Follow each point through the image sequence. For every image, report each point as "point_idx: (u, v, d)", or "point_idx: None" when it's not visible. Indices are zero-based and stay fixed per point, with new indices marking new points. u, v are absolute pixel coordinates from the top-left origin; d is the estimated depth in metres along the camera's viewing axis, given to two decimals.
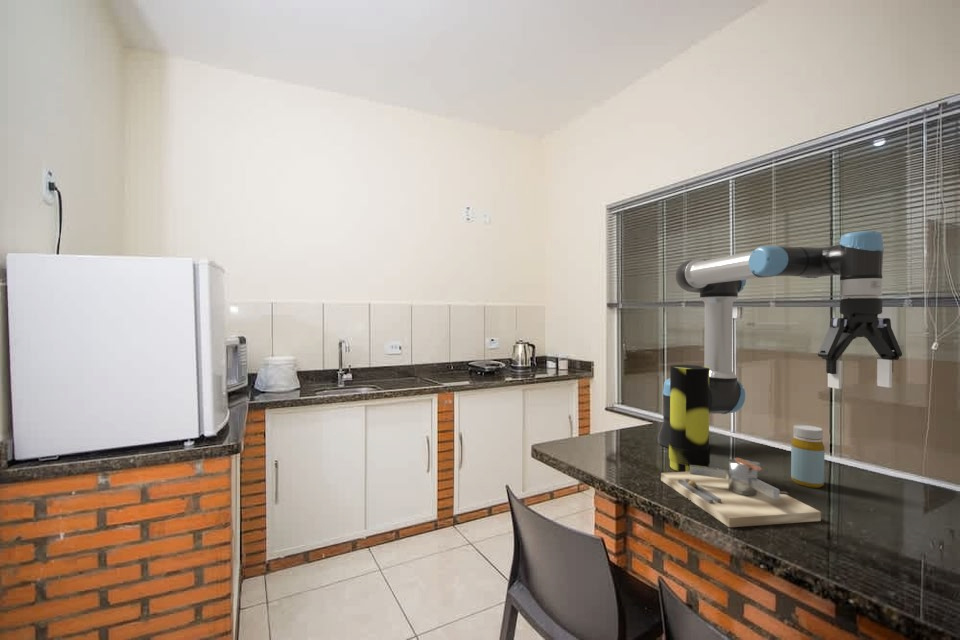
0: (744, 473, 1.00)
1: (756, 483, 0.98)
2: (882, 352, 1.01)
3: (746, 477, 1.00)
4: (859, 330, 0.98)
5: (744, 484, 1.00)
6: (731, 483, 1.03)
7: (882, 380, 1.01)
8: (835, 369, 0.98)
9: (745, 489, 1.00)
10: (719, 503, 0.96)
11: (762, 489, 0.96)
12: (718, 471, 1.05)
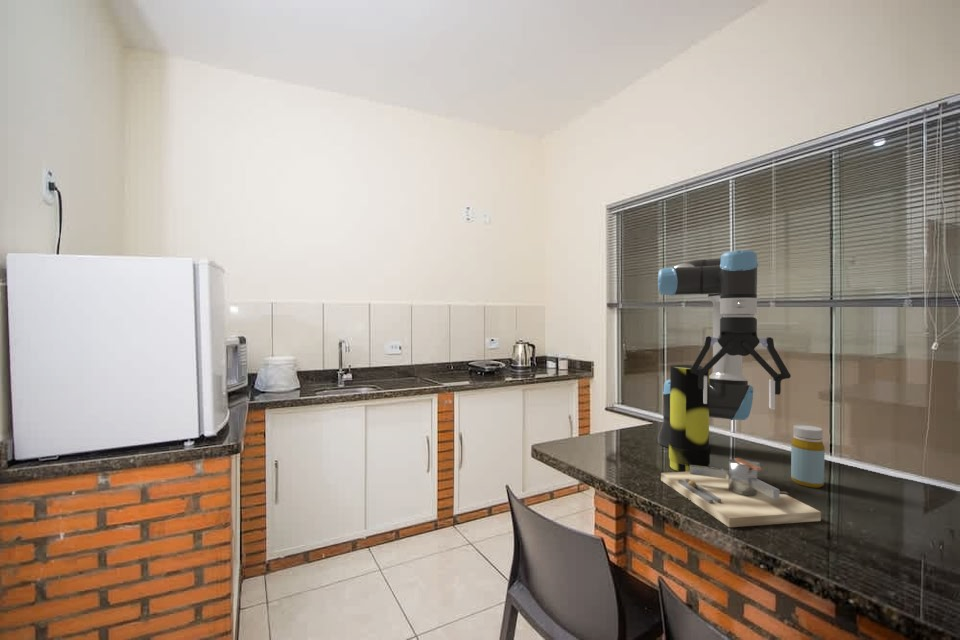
0: (744, 473, 1.00)
1: (756, 483, 0.98)
2: (768, 372, 0.98)
3: (746, 477, 1.00)
4: (727, 348, 1.00)
5: (744, 484, 1.00)
6: (731, 483, 1.03)
7: (769, 401, 0.98)
8: (702, 384, 1.03)
9: (745, 489, 1.00)
10: (719, 503, 0.96)
11: (762, 489, 0.96)
12: (718, 471, 1.05)
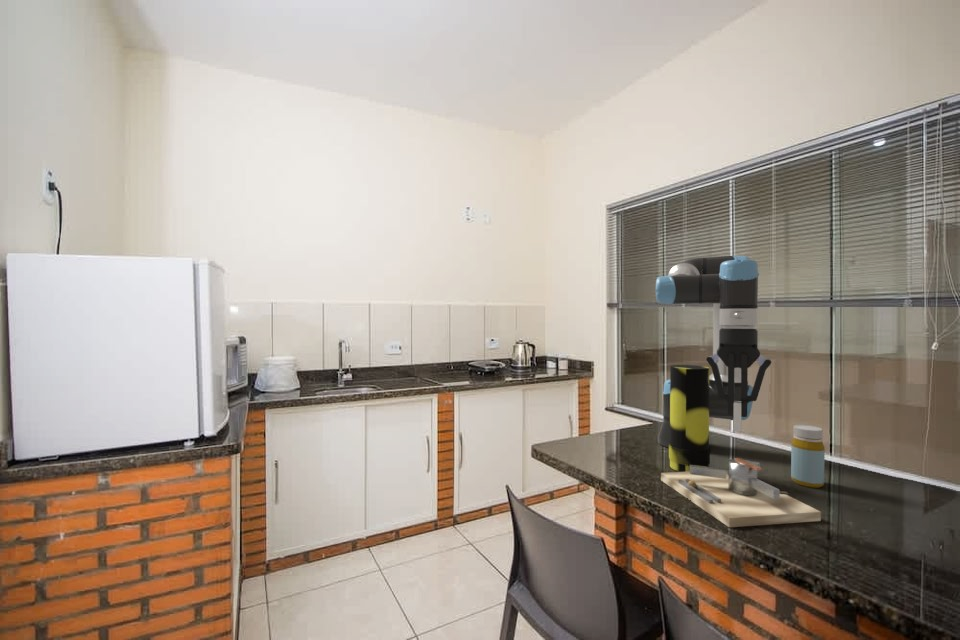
0: (744, 473, 1.00)
1: (756, 483, 0.98)
2: None
3: (746, 477, 1.00)
4: (731, 362, 0.96)
5: (744, 484, 1.00)
6: (731, 483, 1.03)
7: None
8: (732, 410, 0.97)
9: (745, 489, 1.00)
10: (719, 503, 0.96)
11: (762, 489, 0.96)
12: (718, 471, 1.05)
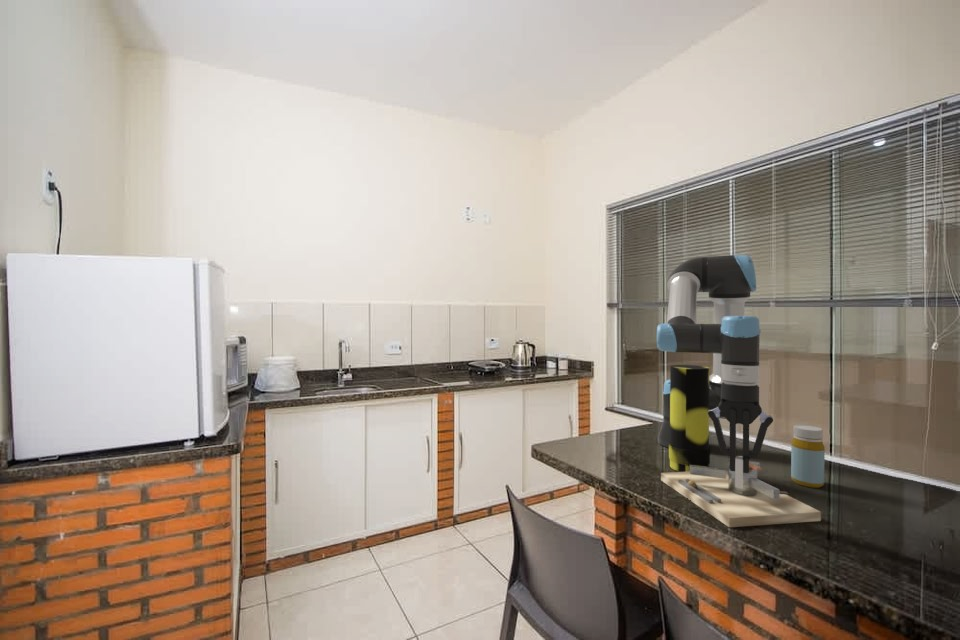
0: (744, 473, 1.00)
1: (756, 483, 0.98)
2: None
3: (746, 477, 1.00)
4: (733, 418, 0.96)
5: (744, 484, 1.00)
6: (731, 483, 1.03)
7: None
8: (734, 466, 0.97)
9: (745, 489, 1.00)
10: (719, 503, 0.96)
11: (762, 489, 0.96)
12: (718, 471, 1.05)
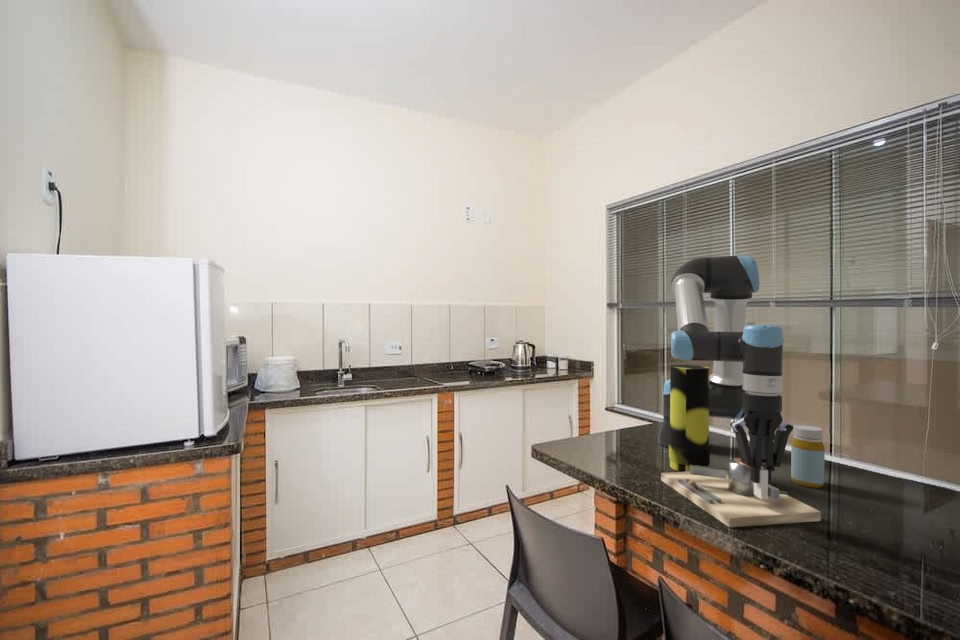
0: (744, 473, 1.00)
1: None
2: (764, 457, 0.96)
3: (746, 477, 1.00)
4: (760, 430, 0.94)
5: (744, 484, 1.00)
6: (731, 483, 1.03)
7: None
8: (758, 478, 0.95)
9: (745, 489, 1.00)
10: (719, 503, 0.96)
11: None
12: (718, 471, 1.05)
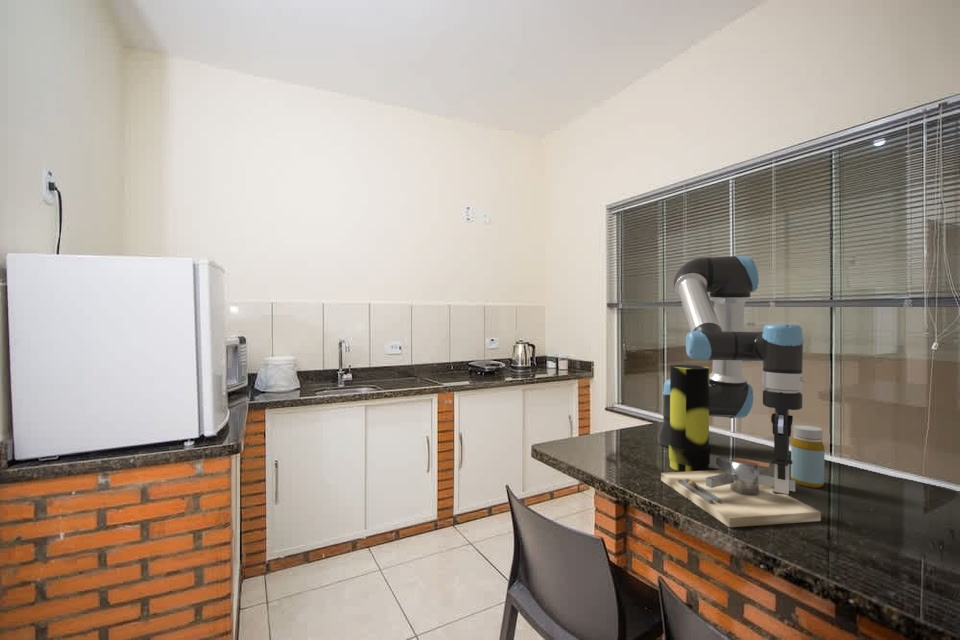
0: (756, 473, 1.01)
1: (769, 480, 1.00)
2: None
3: (757, 476, 1.01)
4: (790, 426, 0.96)
5: (756, 483, 1.01)
6: (743, 486, 1.01)
7: None
8: (785, 474, 0.97)
9: (757, 488, 1.01)
10: (719, 503, 0.96)
11: None
12: (729, 477, 1.02)
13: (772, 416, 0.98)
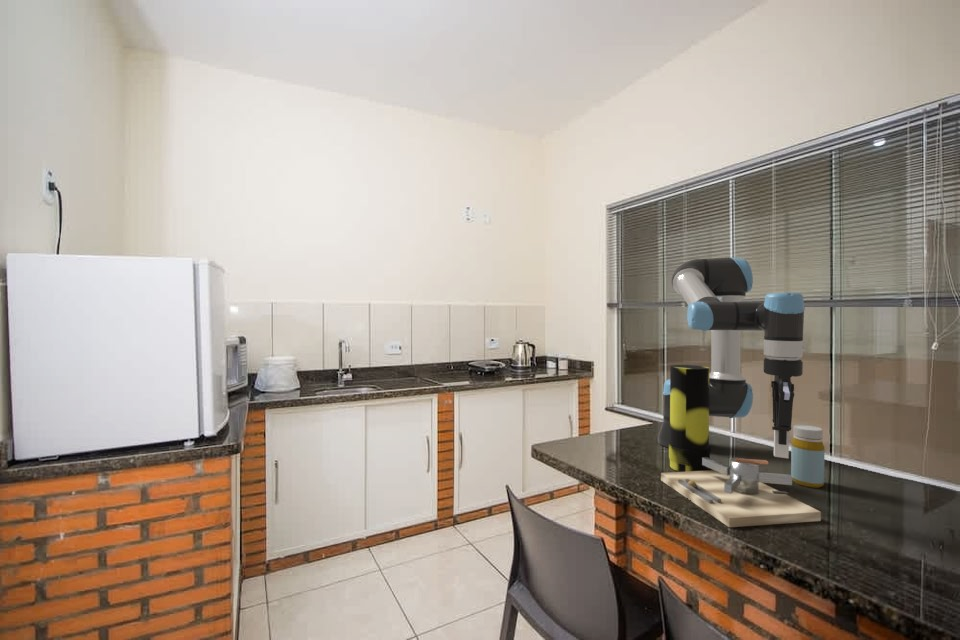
0: (758, 471, 1.02)
1: (768, 476, 1.02)
2: None
3: (758, 474, 1.02)
4: None
5: (758, 482, 1.02)
6: (748, 486, 1.01)
7: None
8: None
9: (758, 487, 1.02)
10: (719, 503, 0.96)
11: (777, 480, 1.02)
12: (738, 479, 1.00)
13: (774, 383, 0.99)
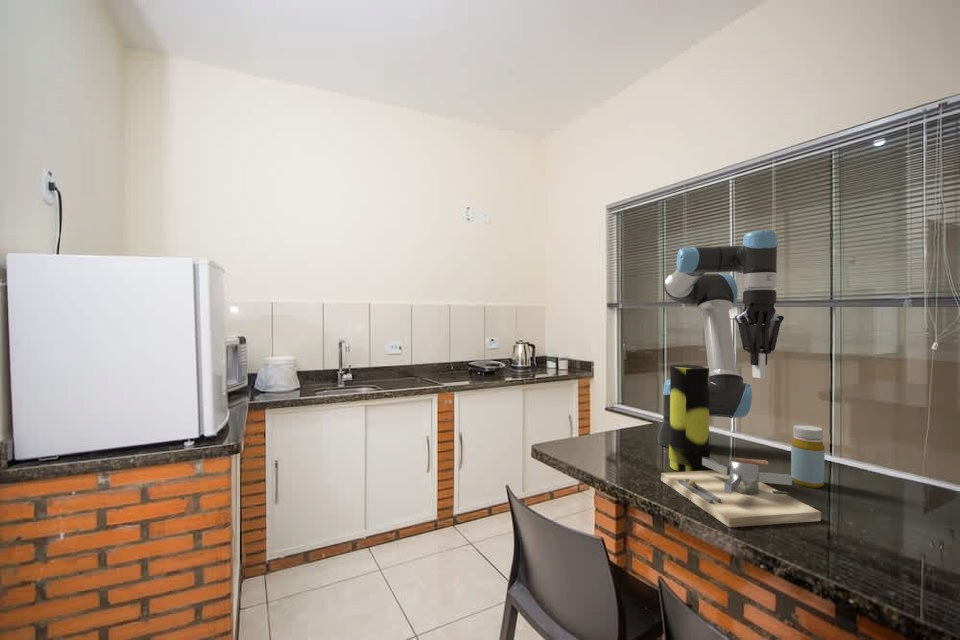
0: (758, 471, 1.02)
1: (768, 476, 1.02)
2: (761, 344, 1.13)
3: (758, 474, 1.02)
4: (760, 319, 1.12)
5: (758, 482, 1.02)
6: (748, 486, 1.01)
7: None
8: (757, 361, 1.13)
9: (758, 487, 1.02)
10: (719, 503, 0.96)
11: (777, 480, 1.02)
12: (738, 479, 1.00)
13: None
